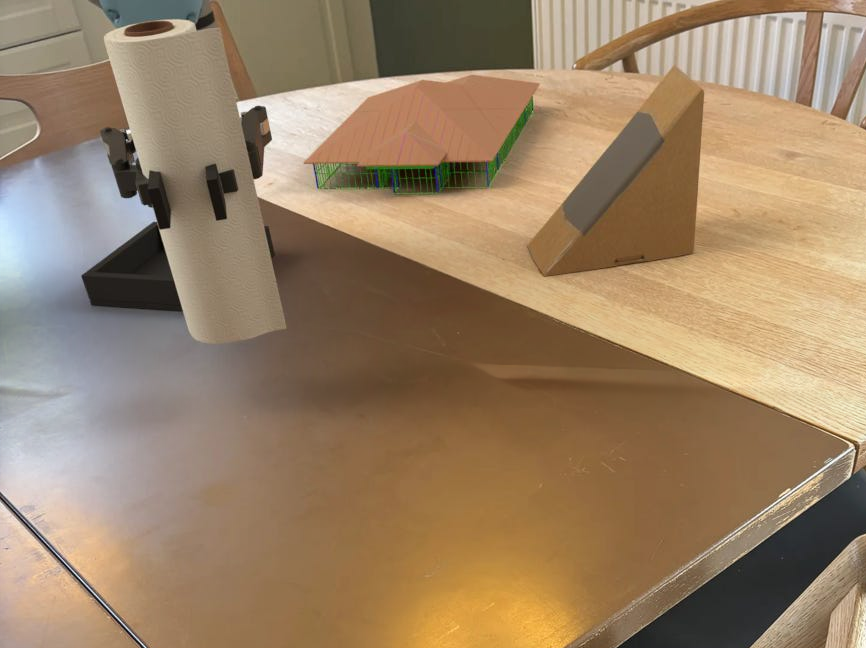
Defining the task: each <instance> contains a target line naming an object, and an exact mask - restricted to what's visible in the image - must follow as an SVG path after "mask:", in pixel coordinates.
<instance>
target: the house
mask: <svg viewBox="0 0 866 648" xmlns="http://www.w3.org/2000/svg"><path fill="white" fill-rule="evenodd" d="M540 84H541V83H539V82H532V81H525V80H518V79H510V78H501V77H495V76H486V75H477V74H470V75H466V76H462V77H460V78H456V79H452V80H450V81H446V82H445V81H435V80H428V79H421V80H418V81H415V82H412V83H408V84H405V85H402V86H399V87H396V88H393V89H390V90H387V91H384V92H381V93H377V94H374V95H372V96H368V97H367V98H366V99H365V100H364V101H363V102H362V103H361V104H360V105H359V106H358V107H357V108H356V109H355V110H353V112H352V113H351V114H350V115H349V116H348V117H346V119H345V120H344V121H343V122H342V123H341V124H340V125H339V126H338V127H337V128H336V129H335V130H334V131H333V132H332V133H331V134H329V136H328V137H327V138H326V139H325V140H324V141H323V142H322V143H321V144H320V145H319V146H318V147H317V148H316V149H315V150H313V152H312V153H311V154H310V155H309V156H308V157H307V158H306V159H305V160H303V164H304V165H308V164H309V165H312V167H313V172H314V177H315V183H316V189H318V190H324V188H326V184H325V182H326V181H327V180H328V179H329V186H330V187H332V182H331V176H332V175H334V178H335V184H336V187H335V188H336V189H339V190H342V189H346V190H348V189H358V186H357V179H356V175H355V174H357V172H355V166H354V165H356V166H357V167H359V174H360V181H361V189H364V183H363V177H362V175H366V177H367V185H368V189H371V187H370V181H369V175H368V174H369V173H368V170H370V176H371V182H372V189H375V185H374V179H373V175H375V180H376V189H383V188H384V186H385V185H386V189H389V186H388V182H389V180H390V179H391V183H392V191H393V194H394V195H396V194H397V195H399V194H400V195H403V194H407V195H409V194H410V195H413V194H414V195H415V194H422V195H423V194H427V195H428V194H429V186H428V184H426V190H427V192H423V191H422V183H421V181H419V186H420V187H419V188H420V192H416V189H415V181H414V180H416V179H417V180H418V179H419V180H421V179H425V181H426V182H425V183H428V179H429V180H430V182H431V184H433V179H435V183H436V184H435V185H436V194H440V192H441V191H442V189H489V188H490V187H491V185H492V183H493V181H494V180H495V178H496V176H497V175H496V174H498V173H499V171H500V170H499V169H501V168H499V167H500V166H501V167H502V166H503V164H504V163H505V161H506V159H507V158H506V156H507V153H508V152H509V151H510V149H511V147H512V146H513V145H514V146H515V144H514V142H515V140H516V138H517V137H518V135H519V134H520V132H521V130H522V128H523V126H524V125H525V124H526V121H527V119H528V117H529V115H531V114H532V111H533V110H534V95H535V93H536V91H537V89H538V88H539V86H540ZM526 109H527V110H526ZM526 125H527V124H526ZM521 133H522V132H521ZM520 135H521V134H520ZM515 143H516V142H515ZM511 150H512V149H511ZM510 152H511V151H510ZM507 157H508V156H507ZM505 158H506V159H505ZM504 160H505V161H504ZM503 162H504V163H503ZM451 163H452V164H451ZM458 163H459V168H460V169H459V170H462V163H465V165H466V170H469V164H468V163H473V164H472V170H474V171H455V170H456V169H455V166H457V167H458ZM475 163H478V165H479V167H480V170H481V171H475V170H476V166H475ZM481 163H484V164H485V170H486V171H485V177H486V186H484V182H483V178H481V183H482V184H481V186H470V184H468V186H464V184H463V183H464V182H463V181H461V186H457V180H456V177H454V183H455V186H450V184H448V186H445V185H446V184H447V183H450V178H451V176H452V175H451V174H454V176H456V173H457V174H459V173H460V176H461V179H463V174H467V180H468V182H470V174H471V173H474V174H481V176H483V171H482V170H483V168H482V165H481ZM502 163H503V164H502ZM341 165H345V166H346V167H345V168H346V172H342V166H341ZM348 165H352V170H353V172H349V169H348ZM446 166H447V167H446ZM450 166H453V167H452V172H451V167H450ZM361 167H365V170H366V171H365V172H362V170H361ZM337 169H340V173H338V172H336V170H337ZM372 170H374V172H372ZM400 170H404V172H405V177H401V174H400V173H398V172H400ZM407 170H411V176H412V177H411V178H412V184H413V185H412V186H413V190H414V191H413V192H409V185H408V177H407ZM413 170H418V177H414V172H413ZM420 170H424V171H425V172H424V173H425V174H427V170H429V173H430V175H432V170H433V176H434V177H433V176H430V177H427V176H428V175H425V176H424V177H423V176H422V177H421V176H420V175H421V173H420ZM453 170H454V171H453ZM489 170H490V171H489ZM491 170H492V171H491ZM494 170H495V171H494ZM497 170H498V171H497ZM469 173H470V174H469ZM343 174H344V175H345V174H347V179H348V180H347V181H348V185H349V187H345V184H344V179H343ZM337 175H341V181H342V182H341V183H342V187H339V186H338V182H337V181H338V180H337ZM350 175H354V176H353V177H354V184H355V187H351V182H350ZM328 177H329V178H328ZM476 177H477V176H476V175H474V182H475V183H474V185H477V178H476ZM327 178H328V179H327ZM403 179H404V180H406V181H405V183H406V188H407V189H406V190H407V192H403V189H402V183H401V180H403ZM493 179H494V180H493ZM322 186H323V187H322ZM330 187H327V188H328V189H327V190H329V188H330ZM320 188H321V189H320ZM340 188H341V189H340ZM399 189H400V192H398V190H399ZM431 194H434V187H433V185H431Z"/></svg>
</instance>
